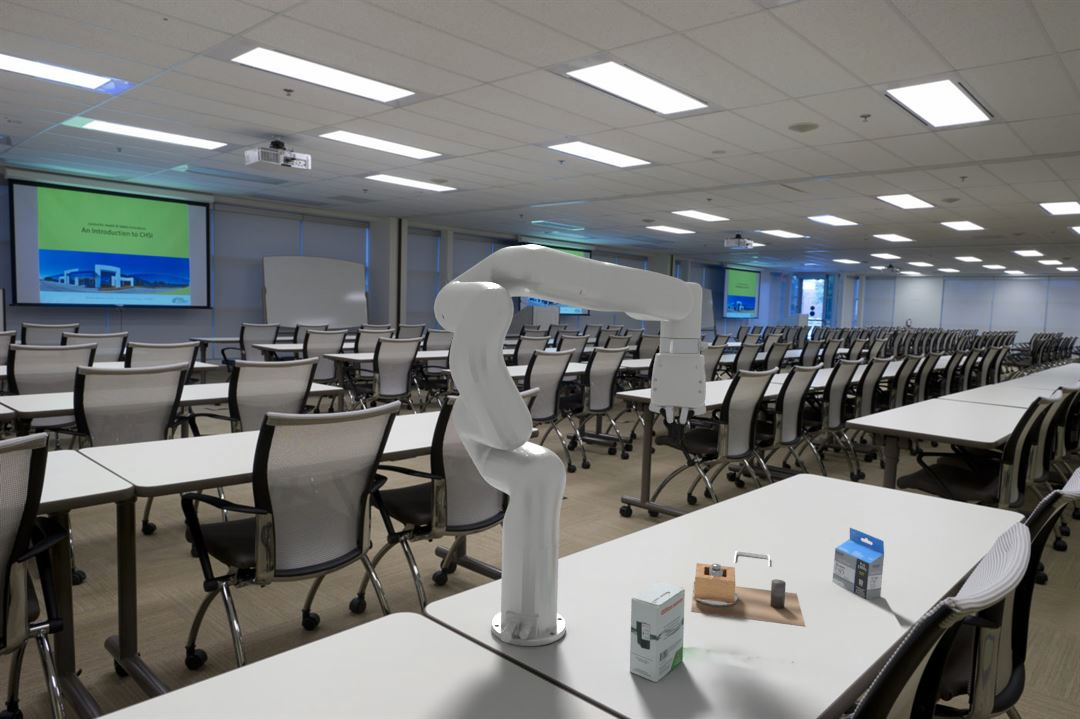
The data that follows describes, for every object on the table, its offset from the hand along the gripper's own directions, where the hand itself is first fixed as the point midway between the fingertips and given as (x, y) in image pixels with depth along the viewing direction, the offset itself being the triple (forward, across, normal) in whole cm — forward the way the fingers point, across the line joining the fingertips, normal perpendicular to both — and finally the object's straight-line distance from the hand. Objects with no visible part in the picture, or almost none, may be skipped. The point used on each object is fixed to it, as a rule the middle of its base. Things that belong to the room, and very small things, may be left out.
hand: (675, 442), depth 135 cm
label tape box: (+29, -35, -8) cm, 46 cm away
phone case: (+30, -16, -17) cm, 38 cm away
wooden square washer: (+27, -8, +5) cm, 28 cm away
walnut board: (+29, -14, +5) cm, 33 cm away
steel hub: (+28, -8, +5) cm, 29 cm away
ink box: (+29, 0, +30) cm, 42 cm away
